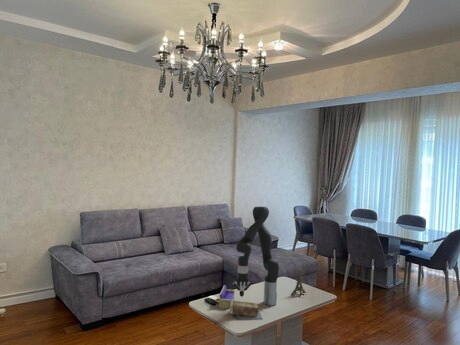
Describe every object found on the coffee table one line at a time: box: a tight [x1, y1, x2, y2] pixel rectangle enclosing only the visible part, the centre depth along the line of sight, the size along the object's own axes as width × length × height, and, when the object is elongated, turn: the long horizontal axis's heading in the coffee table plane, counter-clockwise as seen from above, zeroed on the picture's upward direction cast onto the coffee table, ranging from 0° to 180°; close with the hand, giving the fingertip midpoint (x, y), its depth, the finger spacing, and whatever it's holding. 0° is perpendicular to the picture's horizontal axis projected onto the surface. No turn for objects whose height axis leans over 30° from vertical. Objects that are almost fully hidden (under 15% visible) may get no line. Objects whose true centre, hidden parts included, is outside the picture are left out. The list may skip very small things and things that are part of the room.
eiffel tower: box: [291, 268, 307, 296], centre depth 284 cm, size 11×11×25 cm
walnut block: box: [230, 300, 259, 317], centre depth 240 cm, size 6×8×18 cm
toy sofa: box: [218, 284, 236, 310], centre depth 259 cm, size 21×9×10 cm, turn 171°
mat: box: [235, 309, 263, 320], centre depth 240 cm, size 17×14×2 cm
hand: (241, 296), depth 239 cm, fingers closed
